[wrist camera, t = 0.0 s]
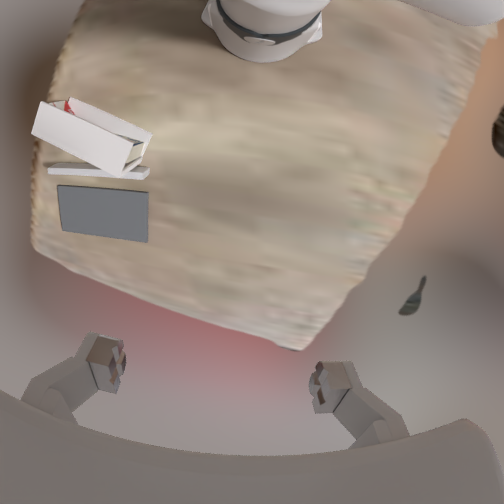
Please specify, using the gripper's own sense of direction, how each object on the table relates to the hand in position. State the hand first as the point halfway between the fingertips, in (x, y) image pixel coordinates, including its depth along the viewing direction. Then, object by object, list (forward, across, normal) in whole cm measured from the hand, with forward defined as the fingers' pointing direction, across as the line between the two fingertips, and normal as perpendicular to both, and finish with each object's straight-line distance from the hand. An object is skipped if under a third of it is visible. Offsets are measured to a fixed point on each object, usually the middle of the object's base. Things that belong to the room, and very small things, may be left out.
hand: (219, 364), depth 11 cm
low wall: (+39, +24, 0) cm, 46 cm away
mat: (+40, +24, +10) cm, 48 cm away
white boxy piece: (+39, +24, -7) cm, 46 cm away
